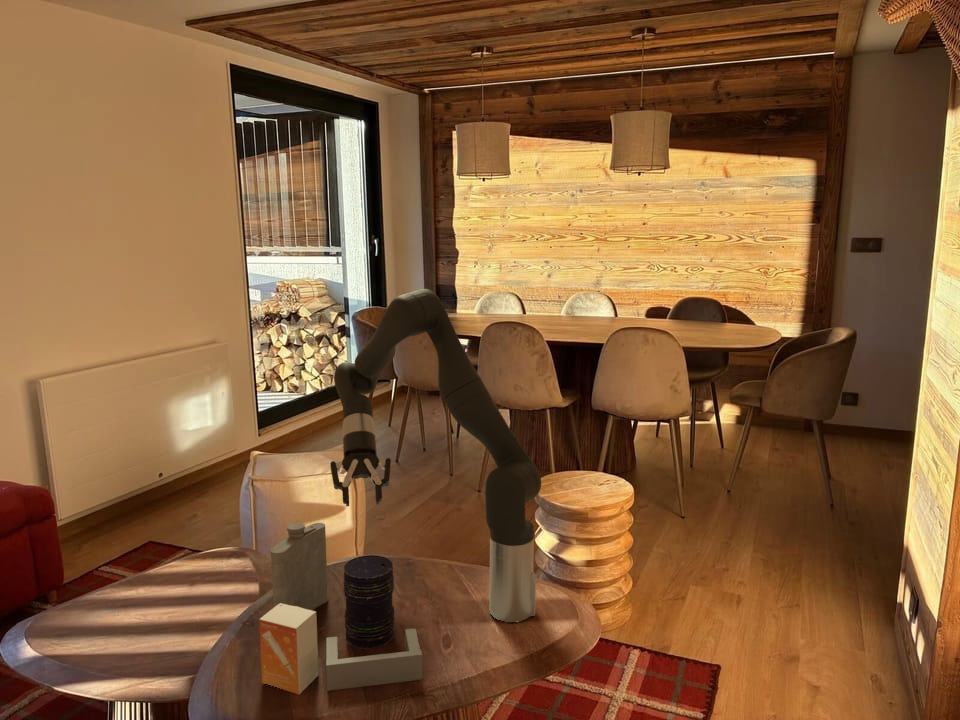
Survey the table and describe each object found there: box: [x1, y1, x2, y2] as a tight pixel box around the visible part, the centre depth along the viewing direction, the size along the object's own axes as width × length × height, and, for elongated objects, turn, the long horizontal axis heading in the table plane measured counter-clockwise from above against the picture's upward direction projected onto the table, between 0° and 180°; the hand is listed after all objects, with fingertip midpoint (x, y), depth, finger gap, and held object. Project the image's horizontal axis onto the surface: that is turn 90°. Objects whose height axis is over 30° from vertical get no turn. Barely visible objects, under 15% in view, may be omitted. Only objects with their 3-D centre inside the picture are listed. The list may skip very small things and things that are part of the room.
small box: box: [258, 603, 319, 695], centre depth 131 cm, size 8×6×13 cm
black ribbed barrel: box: [343, 554, 396, 650], centre depth 145 cm, size 10×10×15 cm
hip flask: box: [270, 521, 329, 611], centre depth 153 cm, size 16×4×20 cm, turn 156°
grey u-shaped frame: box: [325, 628, 423, 692], centre depth 136 cm, size 17×10×5 cm, turn 102°
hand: (362, 503), depth 162 cm, fingers open, 6 cm apart
